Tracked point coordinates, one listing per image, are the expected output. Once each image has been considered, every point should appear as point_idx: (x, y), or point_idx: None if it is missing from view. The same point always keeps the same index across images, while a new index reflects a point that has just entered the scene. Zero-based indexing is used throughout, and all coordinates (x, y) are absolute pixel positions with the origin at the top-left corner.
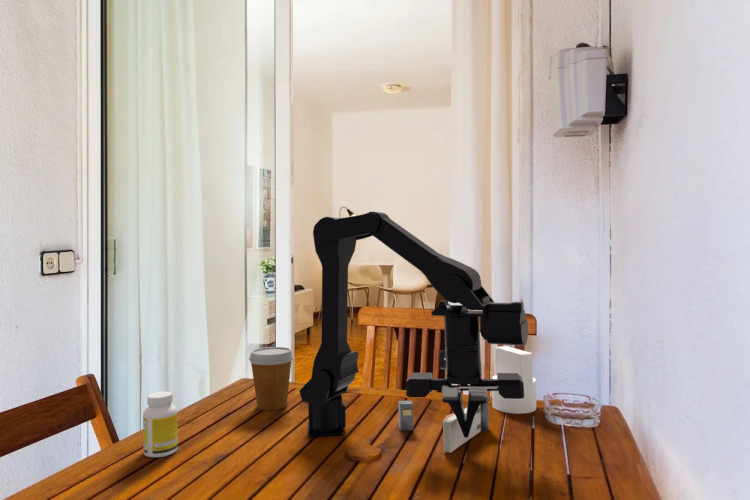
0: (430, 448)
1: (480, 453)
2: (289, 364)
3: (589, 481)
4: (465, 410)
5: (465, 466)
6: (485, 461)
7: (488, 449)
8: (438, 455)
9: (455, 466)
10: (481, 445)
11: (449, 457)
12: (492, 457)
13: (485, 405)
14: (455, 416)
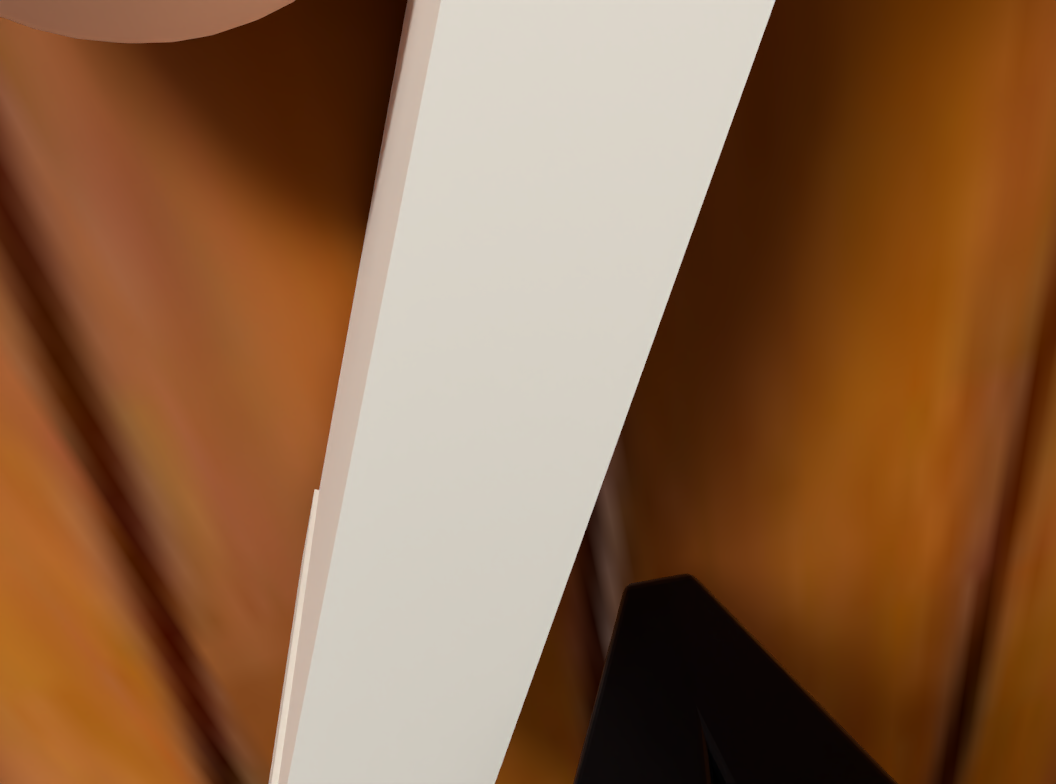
0: (49, 460)
1: (805, 373)
2: None
3: None
4: (596, 33)
5: None
6: (869, 565)
7: (930, 187)
8: (269, 612)
9: (552, 764)
10: (816, 49)
11: None
12: (964, 437)
13: None
14: (401, 723)
